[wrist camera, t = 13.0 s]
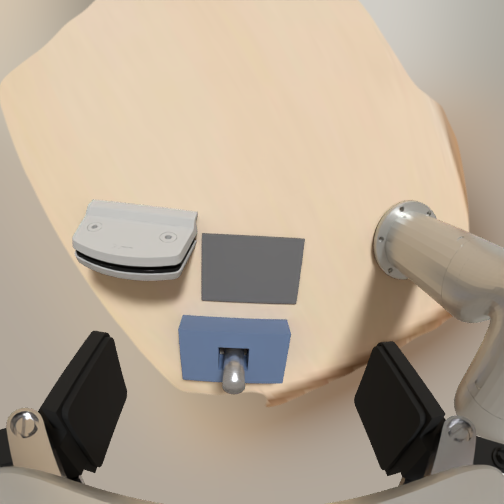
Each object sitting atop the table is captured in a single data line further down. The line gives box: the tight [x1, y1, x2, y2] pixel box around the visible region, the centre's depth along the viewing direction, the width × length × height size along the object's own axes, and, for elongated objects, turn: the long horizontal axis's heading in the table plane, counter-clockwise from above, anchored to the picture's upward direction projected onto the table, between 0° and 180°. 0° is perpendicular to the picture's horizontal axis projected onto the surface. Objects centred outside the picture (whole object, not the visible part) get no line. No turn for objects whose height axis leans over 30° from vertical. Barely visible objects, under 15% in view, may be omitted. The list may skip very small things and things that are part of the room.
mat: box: [202, 233, 305, 304], centre depth 40 cm, size 14×10×1 cm
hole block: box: [178, 315, 291, 383], centre depth 43 cm, size 16×10×4 cm, turn 86°
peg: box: [222, 348, 245, 394], centre depth 40 cm, size 3×3×10 cm
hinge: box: [72, 199, 198, 281], centre depth 34 cm, size 17×5×10 cm, turn 81°
